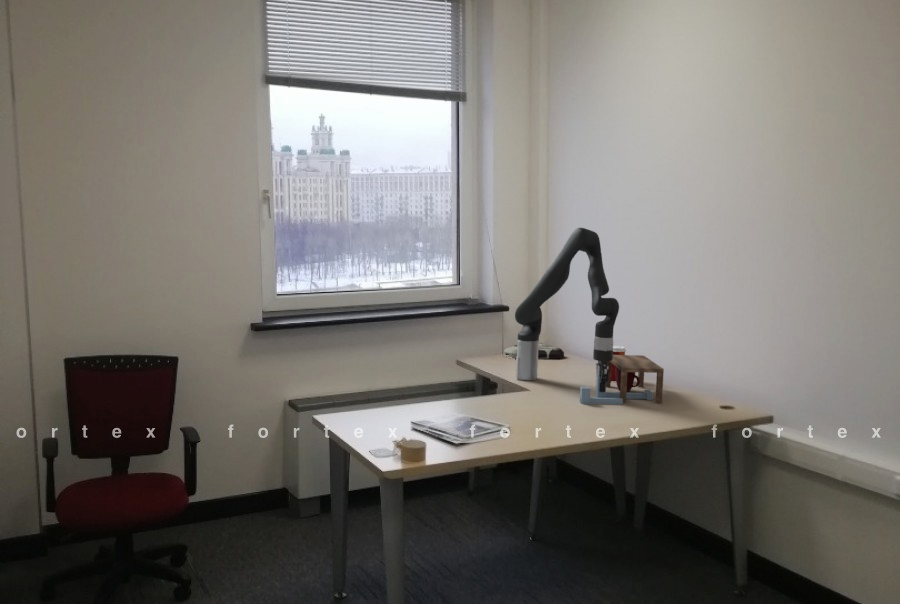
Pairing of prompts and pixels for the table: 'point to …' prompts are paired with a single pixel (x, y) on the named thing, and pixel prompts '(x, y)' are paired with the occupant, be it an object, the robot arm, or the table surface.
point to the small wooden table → (636, 365)
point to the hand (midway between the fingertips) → (601, 390)
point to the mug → (629, 379)
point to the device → (543, 352)
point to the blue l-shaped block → (587, 399)
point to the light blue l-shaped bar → (645, 395)
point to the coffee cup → (616, 351)
